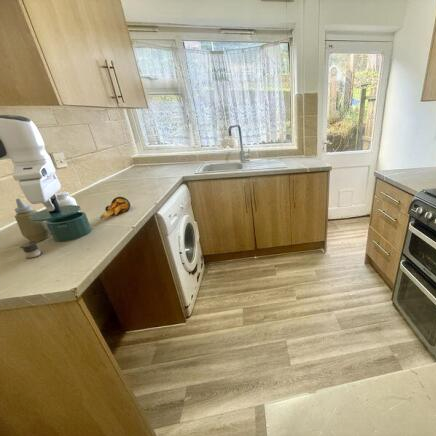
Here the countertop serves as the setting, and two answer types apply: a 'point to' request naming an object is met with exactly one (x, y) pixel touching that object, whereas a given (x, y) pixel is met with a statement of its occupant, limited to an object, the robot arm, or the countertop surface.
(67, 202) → the pill bottle
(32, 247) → the thread spool
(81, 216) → the pot
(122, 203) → the chicken drumstick
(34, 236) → the squeeze bottle
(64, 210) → the pot lid
